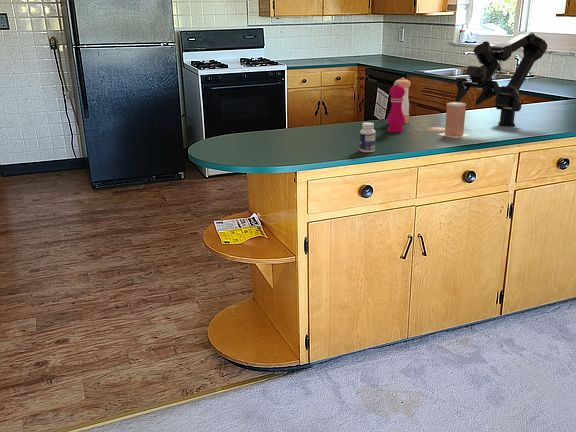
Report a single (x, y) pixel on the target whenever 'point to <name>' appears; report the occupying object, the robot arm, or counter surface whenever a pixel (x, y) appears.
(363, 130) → the pill bottle
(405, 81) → the salt shaker
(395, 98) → the pepper mill
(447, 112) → the tea tin
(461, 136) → the tile
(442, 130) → the cork coaster
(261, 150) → the counter surface
